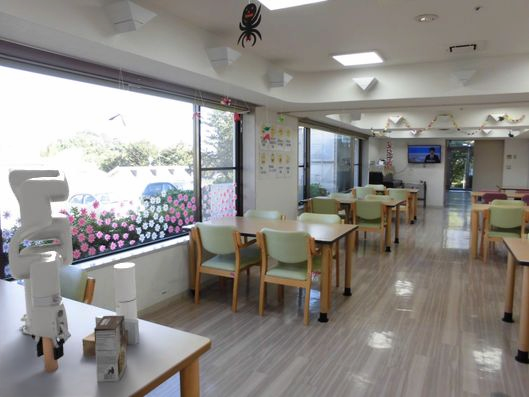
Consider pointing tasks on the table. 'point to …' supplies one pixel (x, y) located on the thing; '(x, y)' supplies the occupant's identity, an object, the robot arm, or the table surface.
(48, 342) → the peach rounded capsule
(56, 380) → the table surface
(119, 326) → the coffee box
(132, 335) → the backstop wall
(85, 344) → the block
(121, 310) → the cylindrical container
